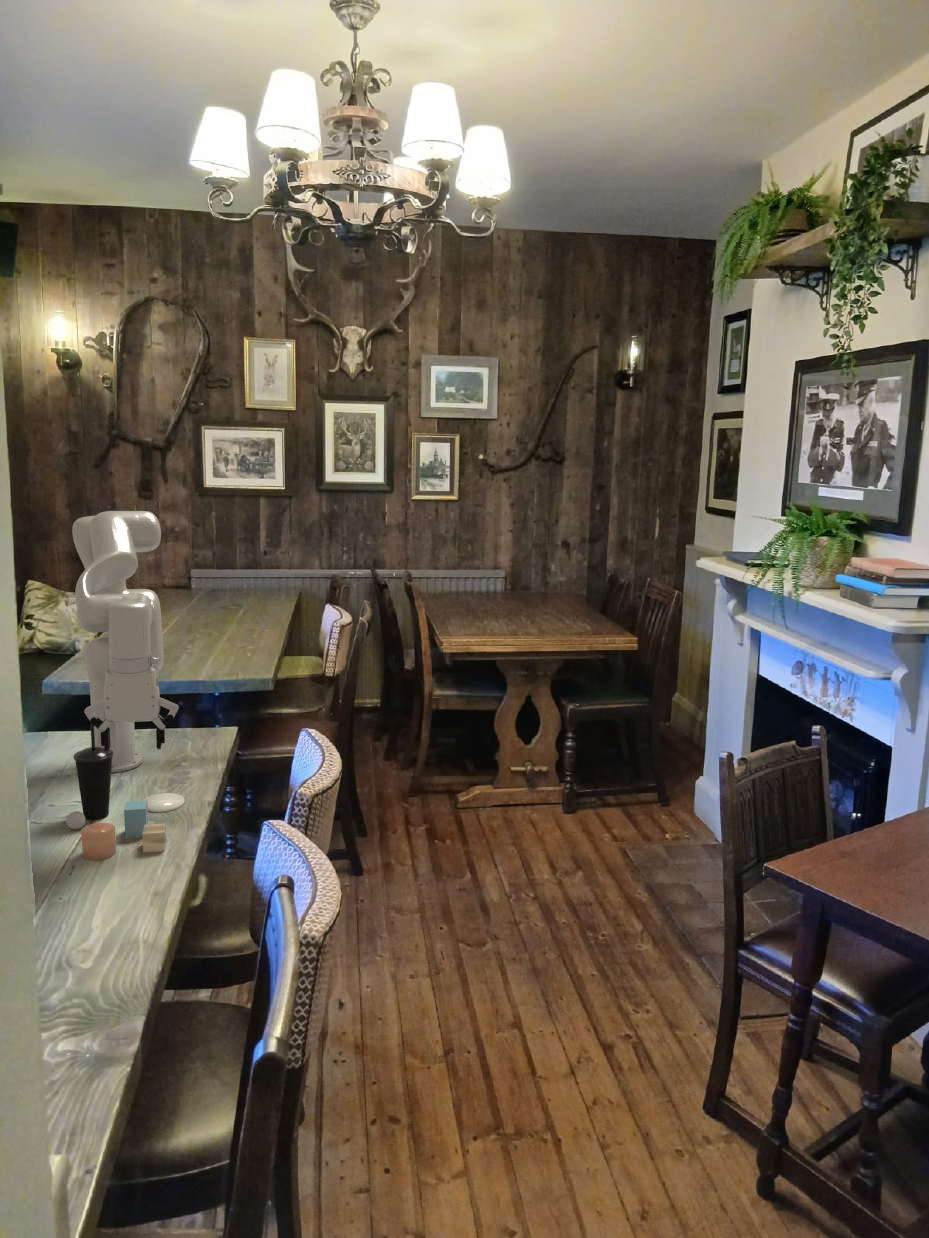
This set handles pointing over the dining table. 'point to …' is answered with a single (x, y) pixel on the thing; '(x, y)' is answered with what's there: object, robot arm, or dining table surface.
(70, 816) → the grey ball
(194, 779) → the dining table surface
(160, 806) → the cream shiny round part
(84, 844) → the peach cylinder
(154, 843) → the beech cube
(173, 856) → the dining table surface
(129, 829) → the teal block
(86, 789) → the drinking cup
